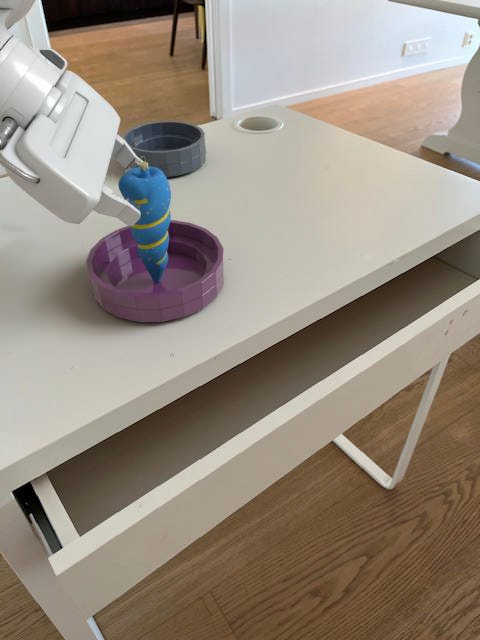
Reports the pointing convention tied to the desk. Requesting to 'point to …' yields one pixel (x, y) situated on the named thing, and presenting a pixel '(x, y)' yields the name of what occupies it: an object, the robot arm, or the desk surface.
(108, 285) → the plum bowl
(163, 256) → the ornament
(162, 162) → the grey bowl
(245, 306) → the desk surface
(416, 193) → the desk surface
